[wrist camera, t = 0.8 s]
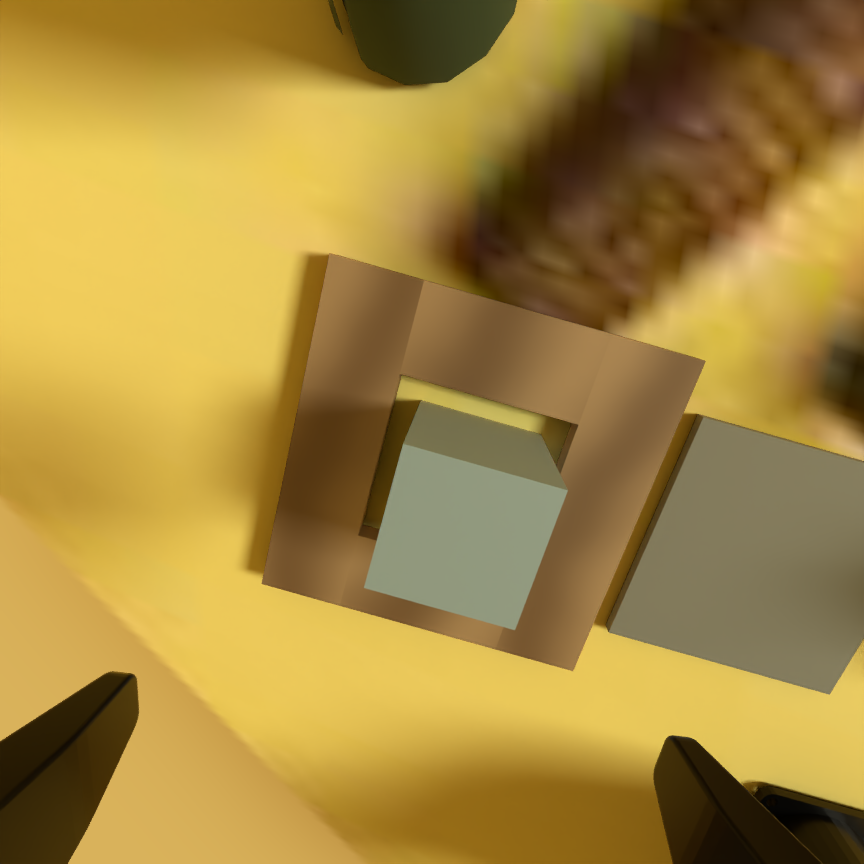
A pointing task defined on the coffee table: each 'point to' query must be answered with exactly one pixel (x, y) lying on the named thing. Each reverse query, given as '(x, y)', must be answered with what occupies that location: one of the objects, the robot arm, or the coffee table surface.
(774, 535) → the rubber mat
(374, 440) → the walnut pocket plate
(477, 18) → the character mug
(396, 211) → the coffee table surface
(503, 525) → the slate block
